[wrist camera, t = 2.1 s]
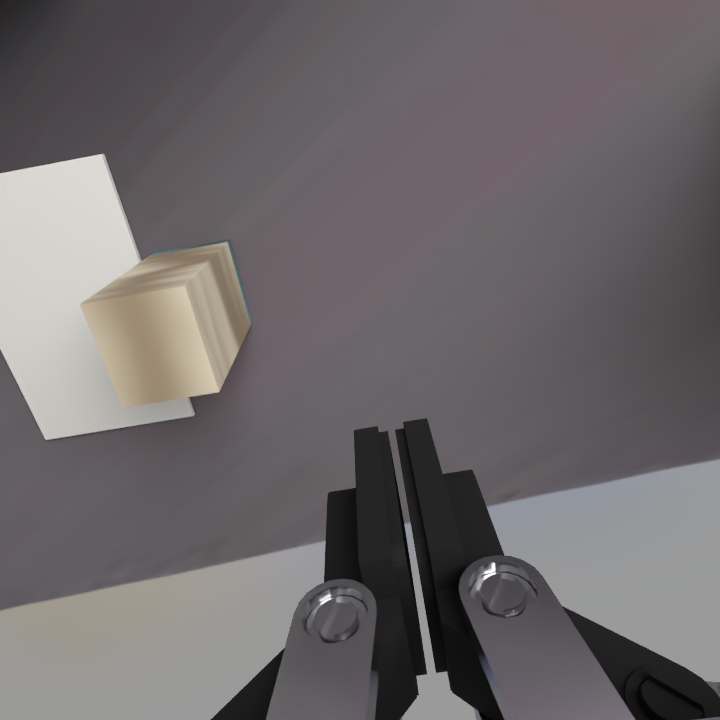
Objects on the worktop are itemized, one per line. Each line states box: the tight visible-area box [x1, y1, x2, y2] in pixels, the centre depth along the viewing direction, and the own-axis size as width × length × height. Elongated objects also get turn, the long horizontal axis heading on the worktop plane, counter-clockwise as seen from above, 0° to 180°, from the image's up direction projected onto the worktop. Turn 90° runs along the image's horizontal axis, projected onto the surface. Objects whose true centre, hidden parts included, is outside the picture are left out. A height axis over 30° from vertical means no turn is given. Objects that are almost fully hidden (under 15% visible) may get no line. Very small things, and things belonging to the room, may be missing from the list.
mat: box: [0, 154, 195, 440], centre depth 31 cm, size 10×16×1 cm, turn 10°
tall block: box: [80, 240, 252, 408], centre depth 27 cm, size 4×5×9 cm
